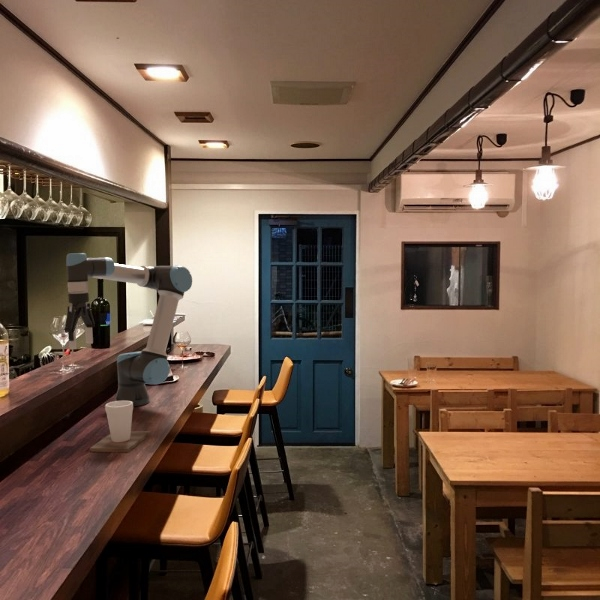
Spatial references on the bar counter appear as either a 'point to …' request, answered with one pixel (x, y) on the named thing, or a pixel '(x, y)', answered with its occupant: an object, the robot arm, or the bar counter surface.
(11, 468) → the bar counter surface
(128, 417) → the foam cup
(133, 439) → the walnut board
